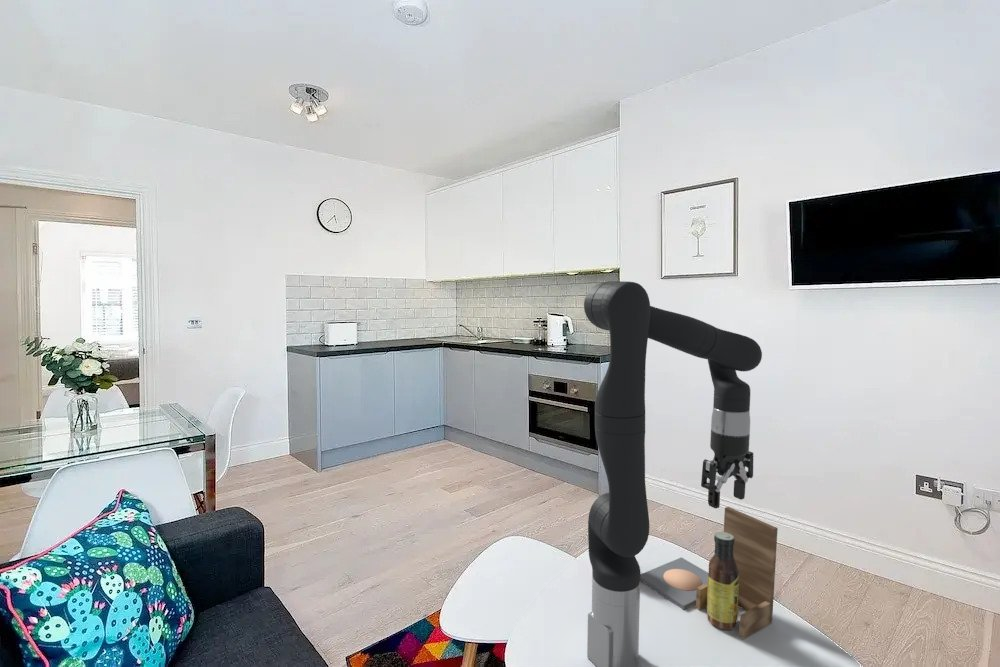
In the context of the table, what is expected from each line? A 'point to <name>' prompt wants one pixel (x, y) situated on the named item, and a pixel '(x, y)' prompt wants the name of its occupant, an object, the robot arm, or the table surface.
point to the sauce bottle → (723, 584)
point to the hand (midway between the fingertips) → (726, 502)
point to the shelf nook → (750, 570)
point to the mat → (676, 581)
